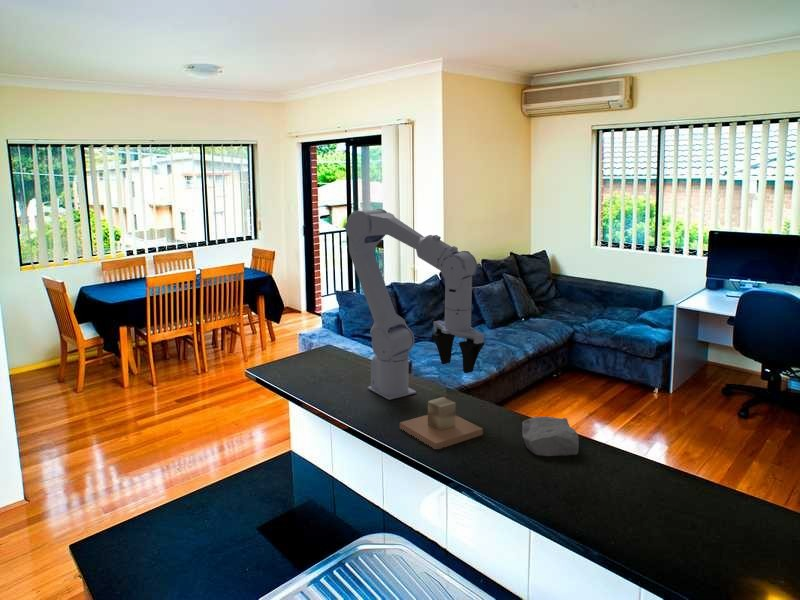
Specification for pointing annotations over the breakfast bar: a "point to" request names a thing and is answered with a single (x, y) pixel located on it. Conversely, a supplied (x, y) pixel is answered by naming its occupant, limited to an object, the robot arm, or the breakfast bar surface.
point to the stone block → (550, 436)
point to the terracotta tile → (440, 432)
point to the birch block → (441, 413)
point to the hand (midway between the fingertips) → (456, 367)
